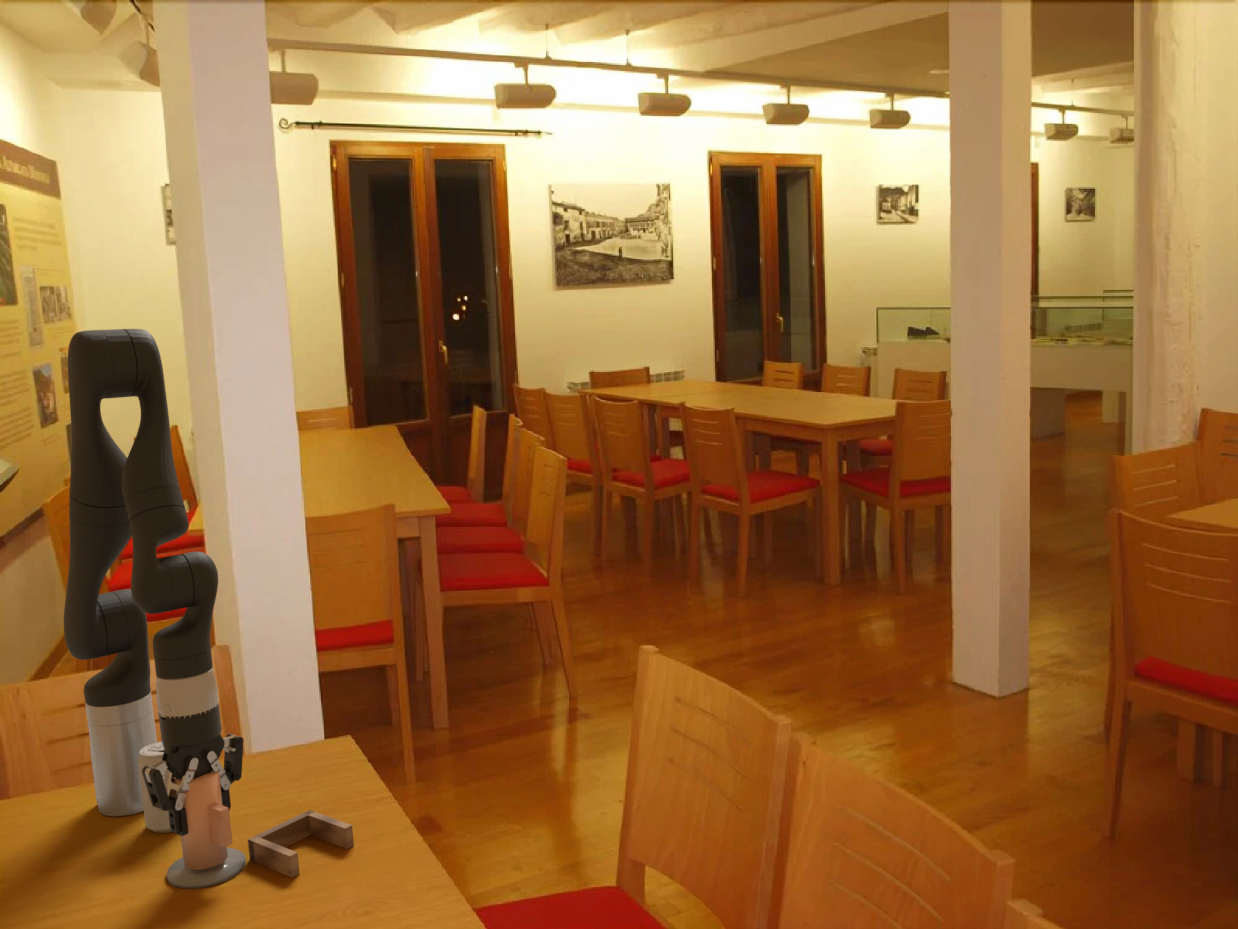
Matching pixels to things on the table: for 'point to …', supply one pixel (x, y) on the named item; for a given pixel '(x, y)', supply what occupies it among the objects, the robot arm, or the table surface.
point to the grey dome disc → (206, 872)
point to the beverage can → (153, 816)
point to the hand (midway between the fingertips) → (201, 824)
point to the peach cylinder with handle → (205, 824)
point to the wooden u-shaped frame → (274, 840)
